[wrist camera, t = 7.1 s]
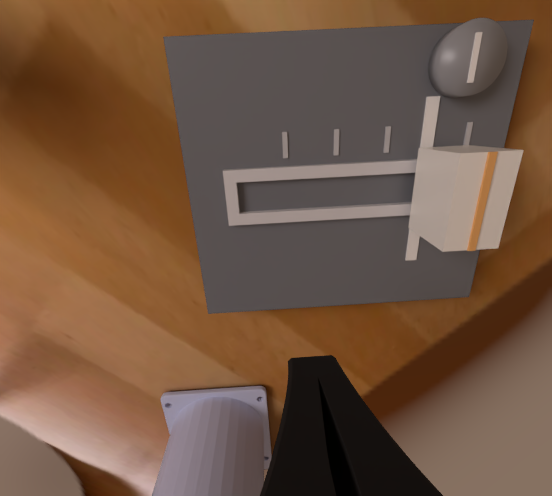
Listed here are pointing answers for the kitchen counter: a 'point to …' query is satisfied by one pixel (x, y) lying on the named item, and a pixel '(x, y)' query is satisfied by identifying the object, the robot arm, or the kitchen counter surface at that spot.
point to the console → (332, 155)
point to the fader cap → (463, 195)
